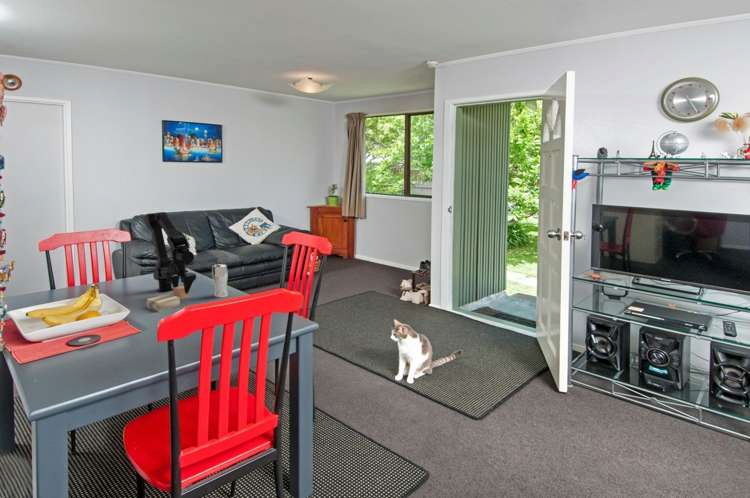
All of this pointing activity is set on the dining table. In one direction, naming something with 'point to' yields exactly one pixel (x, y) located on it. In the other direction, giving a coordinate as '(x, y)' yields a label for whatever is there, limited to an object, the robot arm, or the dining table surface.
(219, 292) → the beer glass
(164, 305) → the birch block
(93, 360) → the dining table surface
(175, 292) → the terracotta cube
